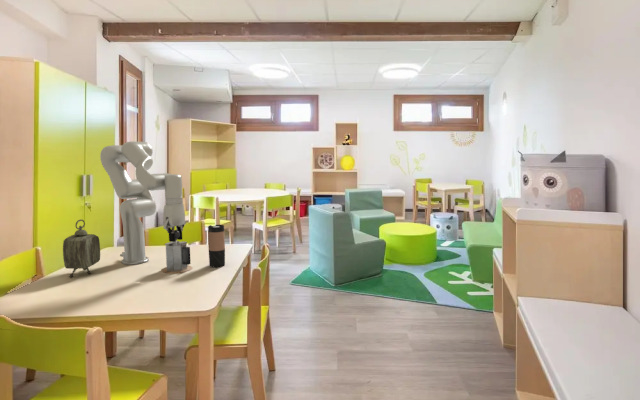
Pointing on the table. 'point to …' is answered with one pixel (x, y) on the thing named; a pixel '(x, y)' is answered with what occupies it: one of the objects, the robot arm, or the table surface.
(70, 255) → the tabletop clock
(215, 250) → the travel mug
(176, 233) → the plunger
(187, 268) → the disc
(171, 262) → the grey slotted housing
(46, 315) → the table surface
